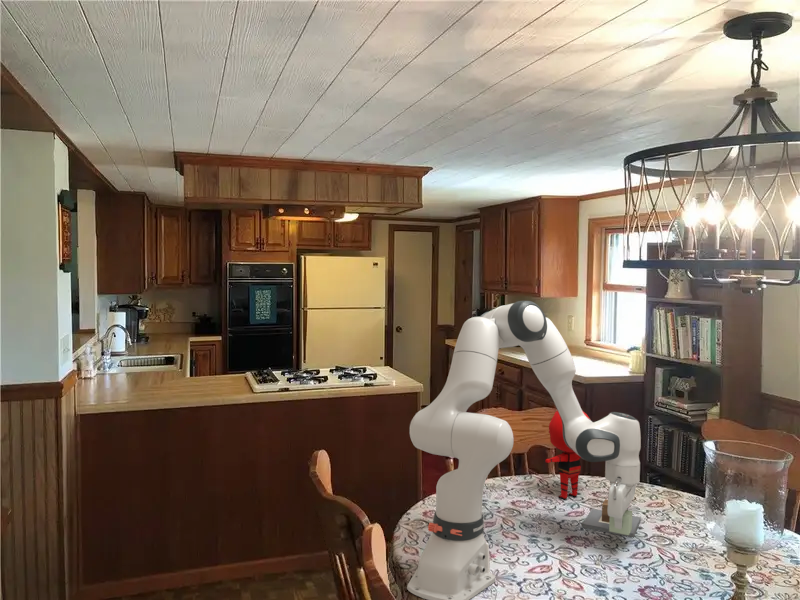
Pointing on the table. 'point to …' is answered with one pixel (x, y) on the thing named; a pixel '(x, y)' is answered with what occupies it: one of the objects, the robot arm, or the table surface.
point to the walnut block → (605, 511)
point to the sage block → (625, 526)
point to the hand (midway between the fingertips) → (620, 524)
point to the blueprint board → (606, 523)
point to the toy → (564, 458)
